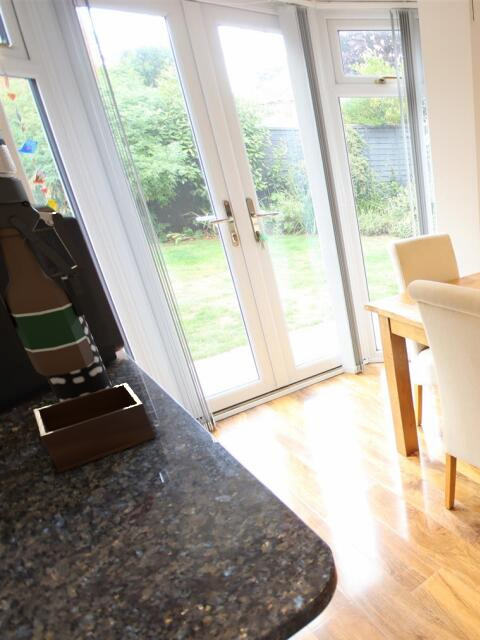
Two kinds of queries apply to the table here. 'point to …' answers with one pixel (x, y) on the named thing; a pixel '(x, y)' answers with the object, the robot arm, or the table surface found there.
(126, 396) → the brown wooden open box
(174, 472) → the table surface
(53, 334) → the beer bottle
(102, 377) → the spotted tube
